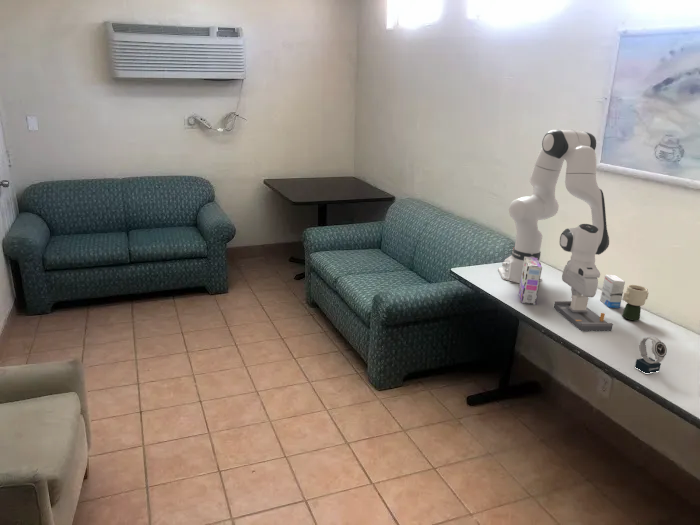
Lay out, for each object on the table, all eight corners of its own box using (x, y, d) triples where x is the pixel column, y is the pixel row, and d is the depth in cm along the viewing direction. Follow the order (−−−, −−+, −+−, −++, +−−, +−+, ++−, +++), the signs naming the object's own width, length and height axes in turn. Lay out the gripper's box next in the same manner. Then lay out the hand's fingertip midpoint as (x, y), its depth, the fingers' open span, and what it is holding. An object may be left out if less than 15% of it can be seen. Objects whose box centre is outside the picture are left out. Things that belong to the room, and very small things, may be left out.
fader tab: (568, 308, 217) (570, 294, 215) (582, 308, 217) (585, 294, 216) (572, 312, 213) (575, 298, 211) (587, 312, 214) (590, 298, 212)
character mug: (635, 314, 220) (642, 284, 217) (648, 321, 214) (656, 290, 210) (612, 315, 218) (619, 284, 214) (625, 323, 211) (632, 291, 207)
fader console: (553, 307, 222) (555, 296, 221) (581, 308, 224) (583, 296, 222) (580, 331, 201) (583, 318, 200) (611, 331, 203) (614, 318, 201)
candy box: (536, 305, 224) (542, 266, 219) (521, 303, 225) (527, 265, 220) (532, 293, 237) (538, 257, 232) (518, 292, 238) (524, 255, 233)
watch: (651, 377, 170) (659, 345, 167) (630, 365, 177) (637, 334, 174) (664, 375, 172) (672, 343, 169) (643, 363, 179) (650, 332, 176)
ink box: (620, 308, 226) (626, 281, 222) (608, 308, 226) (614, 281, 222) (610, 300, 234) (616, 274, 231) (599, 300, 234) (604, 274, 230)
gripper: (561, 258, 223) (555, 290, 227) (587, 274, 203) (580, 309, 208) (575, 258, 224) (569, 290, 228) (603, 275, 204) (595, 309, 208)
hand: (575, 299), depth 217 cm, fingers closed
